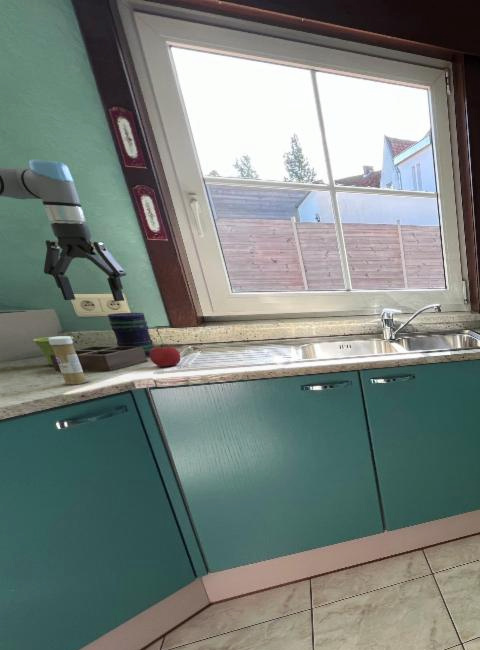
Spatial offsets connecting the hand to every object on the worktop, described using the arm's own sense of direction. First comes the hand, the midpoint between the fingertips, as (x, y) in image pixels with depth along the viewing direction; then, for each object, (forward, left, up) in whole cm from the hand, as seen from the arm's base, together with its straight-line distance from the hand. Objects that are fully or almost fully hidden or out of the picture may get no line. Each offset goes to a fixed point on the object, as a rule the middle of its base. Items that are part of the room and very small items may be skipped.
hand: (95, 300), depth 147 cm
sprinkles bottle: (-3, -12, -23) cm, 26 cm away
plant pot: (-28, +14, -23) cm, 38 cm away
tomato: (+6, +12, -23) cm, 26 cm away
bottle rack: (-14, +12, -22) cm, 29 cm away
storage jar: (-15, +29, -23) cm, 39 cm away
